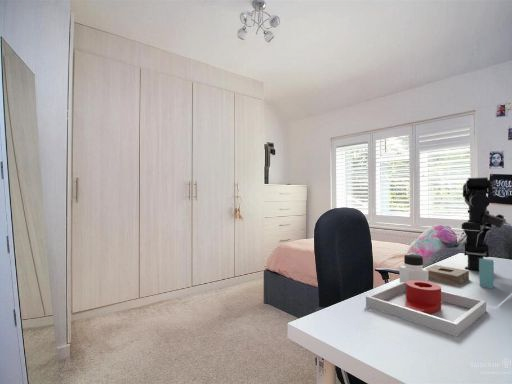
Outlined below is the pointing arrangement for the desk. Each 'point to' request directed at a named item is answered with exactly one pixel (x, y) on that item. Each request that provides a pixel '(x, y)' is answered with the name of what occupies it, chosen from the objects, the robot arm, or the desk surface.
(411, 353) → the desk surface
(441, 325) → the tray
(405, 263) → the medicine bottle
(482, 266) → the plug
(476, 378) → the desk surface
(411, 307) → the red oval ring
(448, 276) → the brown flat block
